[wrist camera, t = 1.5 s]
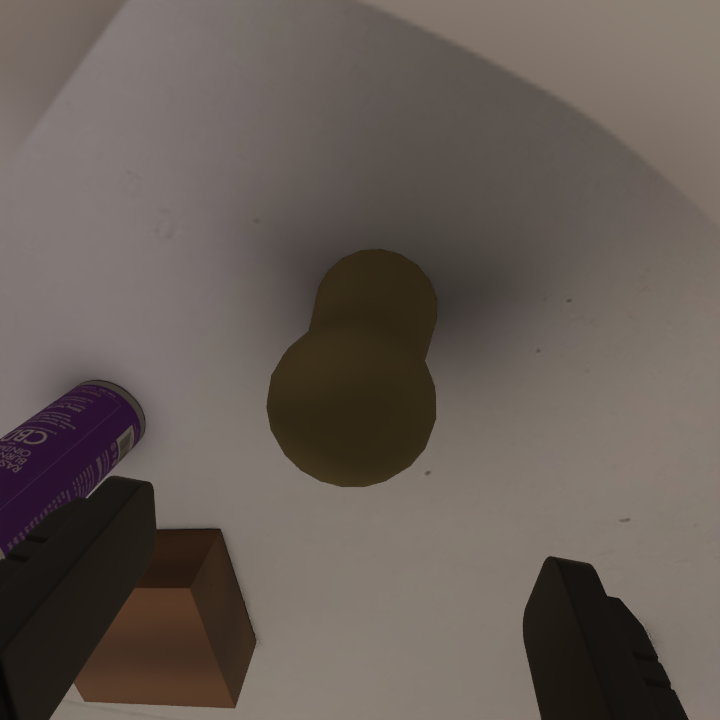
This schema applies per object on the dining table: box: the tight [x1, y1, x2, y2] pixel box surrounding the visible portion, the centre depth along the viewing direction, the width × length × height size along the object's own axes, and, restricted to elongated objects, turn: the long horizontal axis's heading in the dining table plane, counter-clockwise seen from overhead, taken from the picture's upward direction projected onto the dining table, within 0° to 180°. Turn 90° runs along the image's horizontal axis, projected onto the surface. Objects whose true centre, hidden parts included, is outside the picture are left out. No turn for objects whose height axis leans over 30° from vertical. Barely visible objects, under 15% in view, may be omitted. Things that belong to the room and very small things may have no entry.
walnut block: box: [73, 529, 256, 708], centre depth 31 cm, size 11×11×4 cm
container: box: [0, 381, 145, 560], centre depth 20 cm, size 5×5×15 cm
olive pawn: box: [267, 249, 437, 487], centre depth 18 cm, size 6×6×11 cm
